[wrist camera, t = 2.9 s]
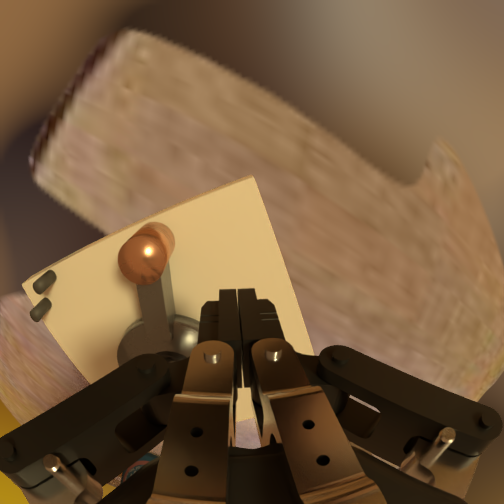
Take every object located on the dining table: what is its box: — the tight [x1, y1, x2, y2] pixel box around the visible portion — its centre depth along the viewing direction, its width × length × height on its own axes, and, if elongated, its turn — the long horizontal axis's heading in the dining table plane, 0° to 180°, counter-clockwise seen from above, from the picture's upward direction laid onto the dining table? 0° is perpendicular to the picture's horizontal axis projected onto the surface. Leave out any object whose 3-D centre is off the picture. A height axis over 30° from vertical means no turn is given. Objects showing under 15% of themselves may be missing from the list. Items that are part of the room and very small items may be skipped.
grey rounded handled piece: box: [117, 222, 200, 367], centre depth 20 cm, size 18×10×4 cm, turn 0°
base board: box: [22, 175, 315, 422], centre depth 24 cm, size 24×24×4 cm
